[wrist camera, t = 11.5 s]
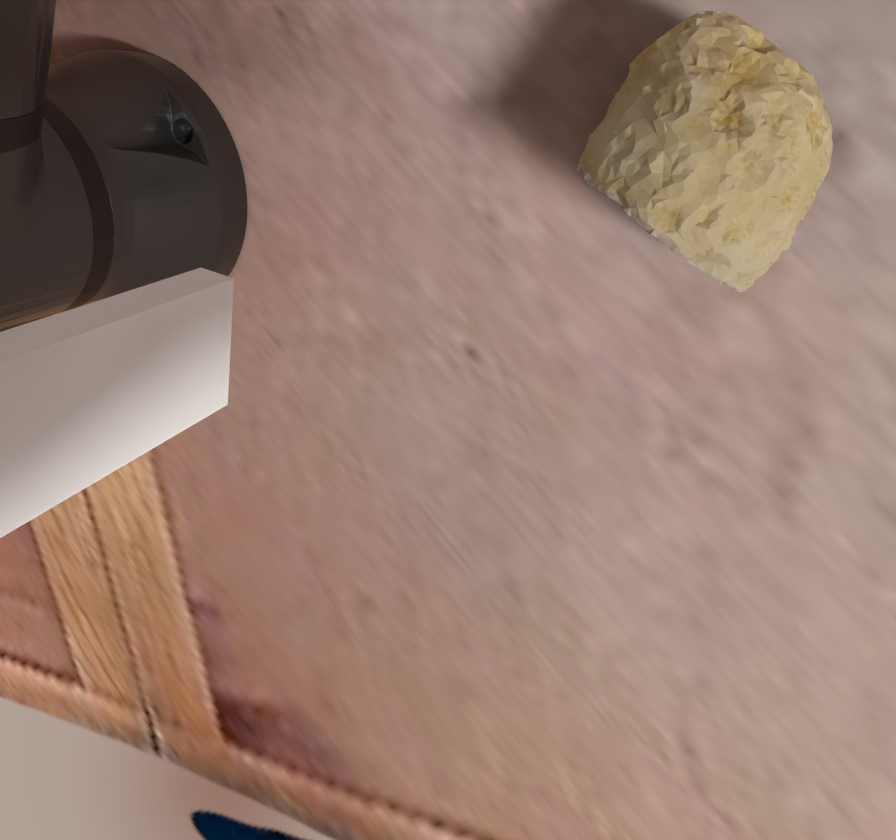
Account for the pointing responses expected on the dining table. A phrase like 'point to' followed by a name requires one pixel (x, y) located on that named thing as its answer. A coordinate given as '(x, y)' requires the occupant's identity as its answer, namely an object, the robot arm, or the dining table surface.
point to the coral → (714, 146)
